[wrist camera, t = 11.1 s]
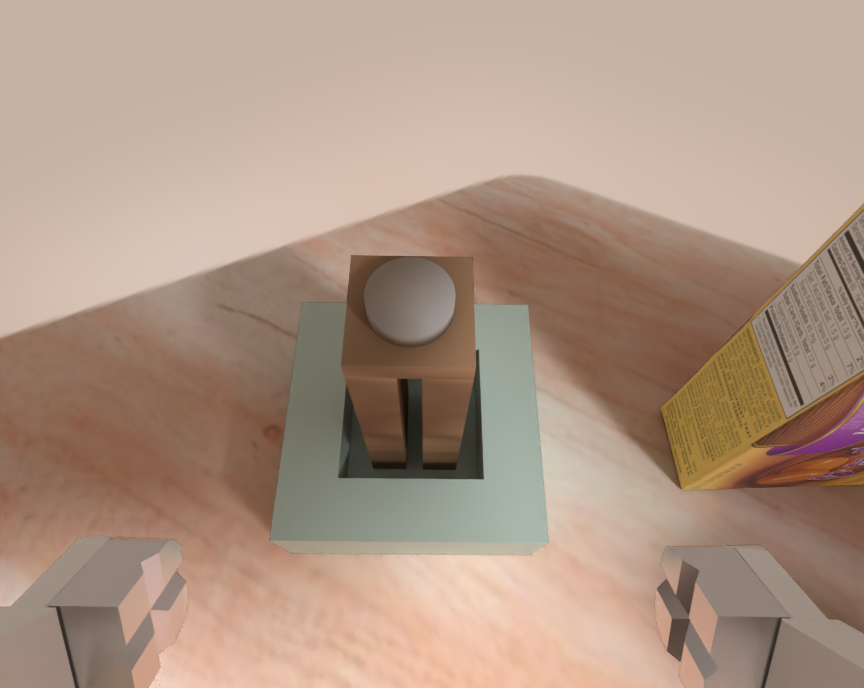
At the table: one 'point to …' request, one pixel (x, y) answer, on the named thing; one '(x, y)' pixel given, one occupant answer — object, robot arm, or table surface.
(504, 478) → the tongs stand
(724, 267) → the table surface
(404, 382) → the walnut tongs
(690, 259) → the table surface
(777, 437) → the candy box
